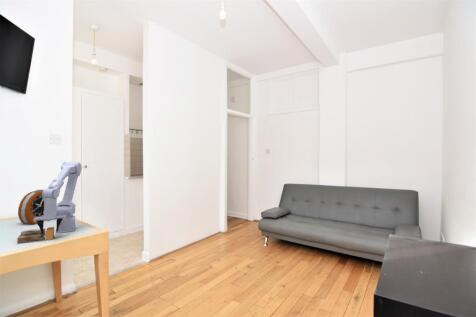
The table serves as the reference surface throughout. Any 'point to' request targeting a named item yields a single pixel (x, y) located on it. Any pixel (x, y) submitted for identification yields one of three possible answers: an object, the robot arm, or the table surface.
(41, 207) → the alarm clock
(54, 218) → the robot arm
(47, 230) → the orange upright block
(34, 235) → the shelf
